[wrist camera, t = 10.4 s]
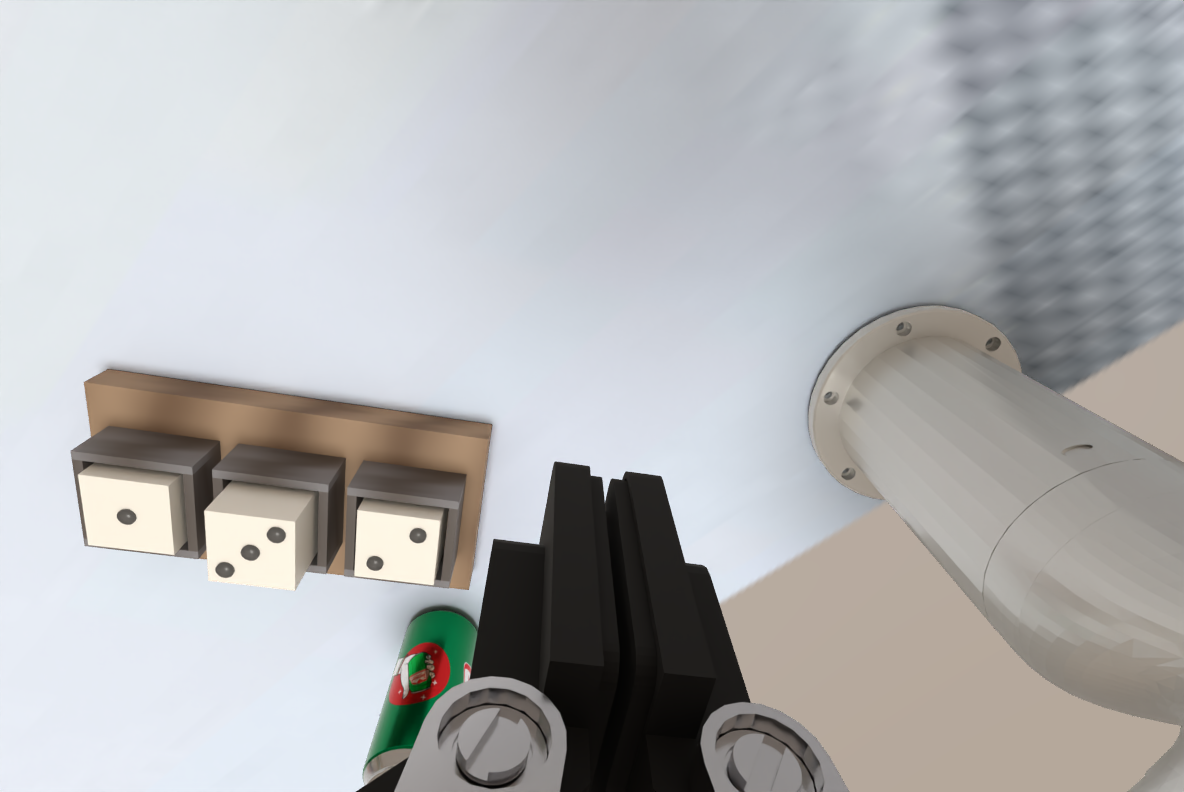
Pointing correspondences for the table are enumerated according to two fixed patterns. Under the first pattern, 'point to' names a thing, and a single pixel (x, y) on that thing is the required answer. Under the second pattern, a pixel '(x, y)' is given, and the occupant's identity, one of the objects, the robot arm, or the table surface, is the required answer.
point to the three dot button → (261, 535)
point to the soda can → (420, 684)
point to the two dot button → (399, 541)
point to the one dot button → (133, 508)
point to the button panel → (291, 458)
